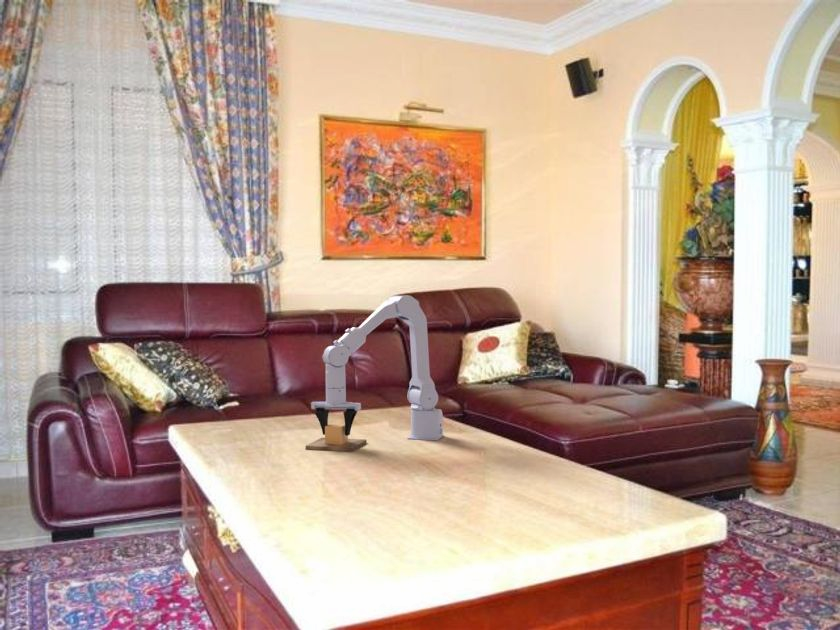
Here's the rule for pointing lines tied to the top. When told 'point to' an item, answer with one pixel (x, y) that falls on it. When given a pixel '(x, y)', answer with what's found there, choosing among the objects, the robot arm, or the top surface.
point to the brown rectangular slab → (348, 446)
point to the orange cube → (335, 434)
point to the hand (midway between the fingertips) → (336, 434)
